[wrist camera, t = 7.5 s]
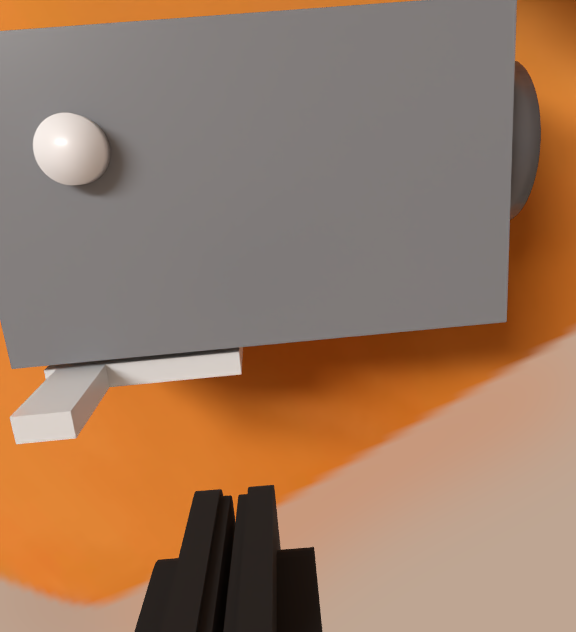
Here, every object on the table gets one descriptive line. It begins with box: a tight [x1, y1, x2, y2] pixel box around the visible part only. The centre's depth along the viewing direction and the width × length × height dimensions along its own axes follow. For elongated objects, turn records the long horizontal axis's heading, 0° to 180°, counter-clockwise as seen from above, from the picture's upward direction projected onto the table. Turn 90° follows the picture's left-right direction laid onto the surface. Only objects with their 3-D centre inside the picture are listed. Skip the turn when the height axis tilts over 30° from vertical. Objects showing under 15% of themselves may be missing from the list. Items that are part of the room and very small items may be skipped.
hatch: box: [10, 347, 243, 444], centre depth 24 cm, size 8×1×12 cm, turn 95°
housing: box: [0, 0, 541, 369], centre depth 24 cm, size 22×13×10 cm, turn 95°
